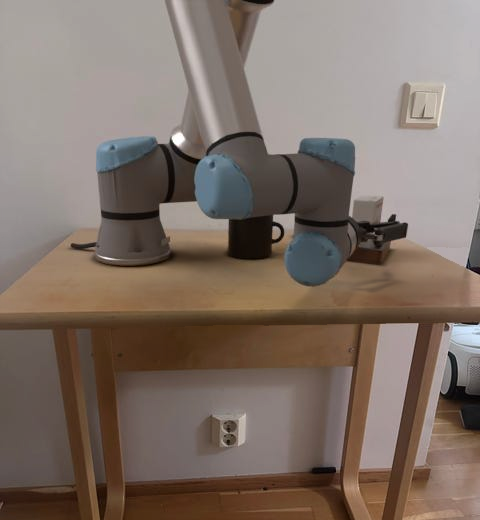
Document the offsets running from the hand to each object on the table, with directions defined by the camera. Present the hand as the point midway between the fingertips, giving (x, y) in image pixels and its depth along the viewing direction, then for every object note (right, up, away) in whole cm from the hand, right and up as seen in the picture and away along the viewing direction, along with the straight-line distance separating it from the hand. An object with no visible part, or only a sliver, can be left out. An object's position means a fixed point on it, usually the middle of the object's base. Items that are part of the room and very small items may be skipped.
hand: (358, 217), depth 96 cm
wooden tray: (+4, -6, +11) cm, 13 cm away
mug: (-20, -6, +9) cm, 23 cm away
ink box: (+4, -5, +11) cm, 13 cm away
